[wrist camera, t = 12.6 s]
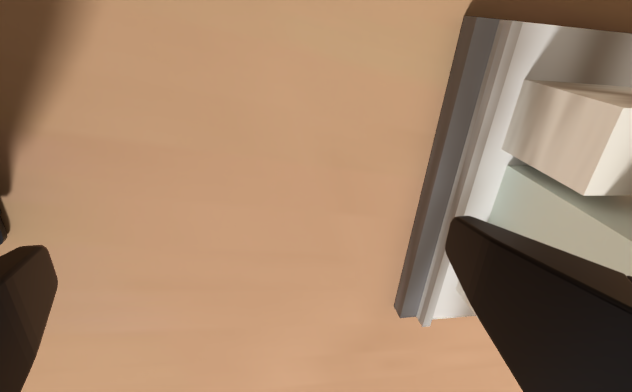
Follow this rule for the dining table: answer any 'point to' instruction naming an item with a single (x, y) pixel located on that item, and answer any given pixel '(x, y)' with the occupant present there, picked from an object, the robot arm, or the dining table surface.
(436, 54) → the dining table surface
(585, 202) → the block
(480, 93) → the rail board
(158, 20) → the dining table surface
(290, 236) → the dining table surface
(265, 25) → the dining table surface
